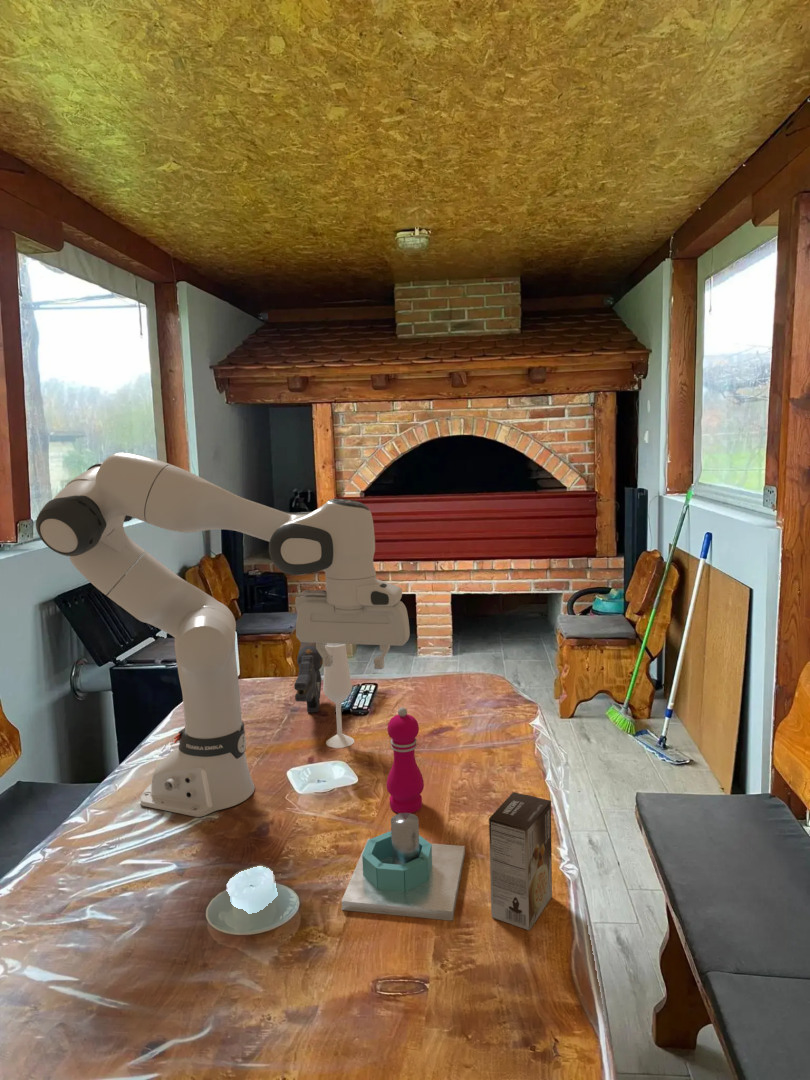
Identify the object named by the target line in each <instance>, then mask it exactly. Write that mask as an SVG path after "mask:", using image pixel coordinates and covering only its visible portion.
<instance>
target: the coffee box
mask: <svg viewBox="0 0 810 1080" xmlns="http://www.w3.org/2000/svg"><path fill="white" fill-rule="evenodd" d="M488 825H489V827H488V832H489V834H488V835H489V864H490V865H489V867H490V868H489V869H490V870H489V873H490V874H489V875H490V907H491V908H490V912H491V914H490V915H491V917H492V918H493V919H496V920H499V921H501V922H505V923H507V924H510V925H513V926H515V927H518V928H521V929H524V930H527V931H530V930H531V929H532V928H533V927H534V925H535V923H536V922H537V920H538V919H539V917H540V915H541V914H542V912H543V911H544V909H545V908H546V906H547V904H548V903H549V901H550V900H551V899H552V897H553V886H552V885H553V880H552V879H553V877H552V875H553V871H552V868H553V867H552V863H553V862H552V853H553V852H552V800H551V799H550V800H549V799H545V798H540V797H537V796H532V795H529V794H523V793H518V792H515V791H513V792H512V793H511V794H510V795H509V796H508V797H507V798H506V799H505V800H504V802H502V804H501V805H500V806H499V807H498V808H497V809H496V810H495V811H494V812H493V814H491V816H490V817H488Z"/></svg>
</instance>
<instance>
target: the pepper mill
mask: <svg viewBox="0 0 810 1080" xmlns="http://www.w3.org/2000/svg"><path fill="white" fill-rule="evenodd" d="M419 730H420V725H419V723H418V721H417V719H416V718H415V717H414V716H413V715H411V714H408V709H407V708H406V707H400V708H399V709H398V710H397V714H395V715H394V716H393V717H391V718H390V720H389V721H388V723H387V734H388V736H389V738H390V748H391V750H393V751H392V752H393V762H392V766H391V769H390V771H389V773H388V775H387V779H386V789H387V790H386V791H387V792H388V794H389V796H390V797H389V807H390V809H391V810H392V812H394V813H397V814H400V813H411V814H413V813H416V812H418V811H419V810H420V809H422V806H423V798H422V795H421V794H422V793H423V790H424V787H425V783H424V777H423V774H422V773H421V769H420V767H419V766H418V764H417V761H416V757H415V749H417V746H418V744H417V742H418V741H417V738H416V737H418V734H419V732H420V731H419Z"/></svg>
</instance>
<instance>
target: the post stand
mask: <svg viewBox="0 0 810 1080" xmlns="http://www.w3.org/2000/svg"><path fill="white" fill-rule="evenodd" d="M419 825H420V824H419V817H418V816H417V815H416V814H413V813H397V814H394V815H393V816H391V818H390V831H391V836H392V856H390V857H387V858H385V859H383V860H380V862H381V863H386V864H398V865H403V864H406V863H408V862H410V861H412V860H415V859H417V858H419V857H420V851H419V835H420V827H419ZM369 839H370V838H367V840H366V842H365V845H364V847H363V849H362V852H361V853H360V857H359V858H358V861H357V863H356V866H355V868H354V870H353V873H352V875H351V877H350V880H349V882H348V885H347V887H346V889H345V892H344V894H343V896H342V898H341V901H340V902H341V903H340V904H341V911H347V912H348V911H349V912H357V913H371V914H380V915H390V916H399V917H409V918H421V919H430V920H431V919H432V920H442V921H453V920H454V917H455V916H454V915H455V910H456V904H457V898H458V894H459V887H460V882H461V878H462V871H463V867H464V860H465V854H466V850H465V847H466V846H465V845H456V844H443V843H442V844H441V843H440V844H439V843H430V842H429V843H430V844H431V845H432V867H431V871H430V875H429V879H428V881H427V882H425V883H422V884H420V885H418V886H416V887H414V888H412V889H409V890H407V891H394V890H383V889H378V888H376V887H375V886H374V885H373V884H372V883H371V882H370V881H369V880H368V879H366V878H365V877H364V876H363V861H362V854H363V852H364V849H365V847H366V845H367V842H368V840H369Z"/></svg>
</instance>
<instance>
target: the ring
mask: <svg viewBox="0 0 810 1080" xmlns="http://www.w3.org/2000/svg"><path fill="white" fill-rule="evenodd" d="M368 839H369V840H368ZM368 839H367V840H368V842H367V841H366V842H367V845H366V844H365V845H366V847H365V846H364V847H365V849H364V848H363V849H364V852H363V851H362V852H363V854H362V853H361V854H362V861H363V876H364V877H365V878H366V879H368V880H369V881H370V882H371V883H372V884H373V885H374V886H375V887H376V888H378V889H383V890H394V891H407V890H409V889H412V888H414V887H416V886H418V885H420V884H422V883H425V882H427V881H428V879H429V875H430V871H431V867H432V845H431V844H432V843H431V844H430V842H429V841H428V840H426V839H425V838H423V837H422V836H421V835H420V834H419V851H420V857H419V858H417V859H415V860H412V861H410V862H408V863H406V864H403V865H398V864H386V863H381V862H380V860H383V859H385V858H387V857H390V856H392V836H391V830H389V831H387V832H385V833H382V834H379V835H377V836H375V837H372V838H368Z"/></svg>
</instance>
